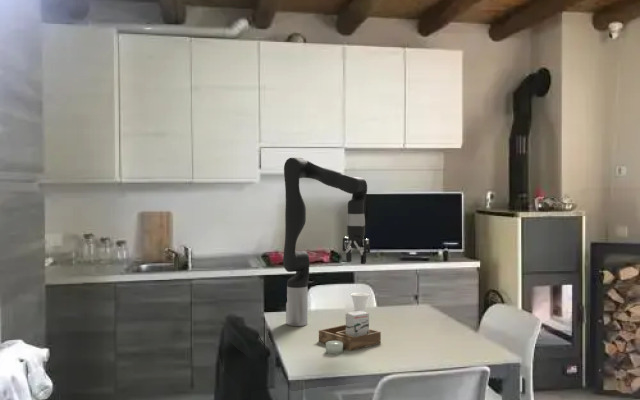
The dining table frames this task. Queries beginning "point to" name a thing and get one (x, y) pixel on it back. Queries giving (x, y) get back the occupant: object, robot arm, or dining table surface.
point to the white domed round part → (334, 347)
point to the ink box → (357, 323)
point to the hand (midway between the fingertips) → (356, 262)
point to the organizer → (349, 338)
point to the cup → (360, 301)
